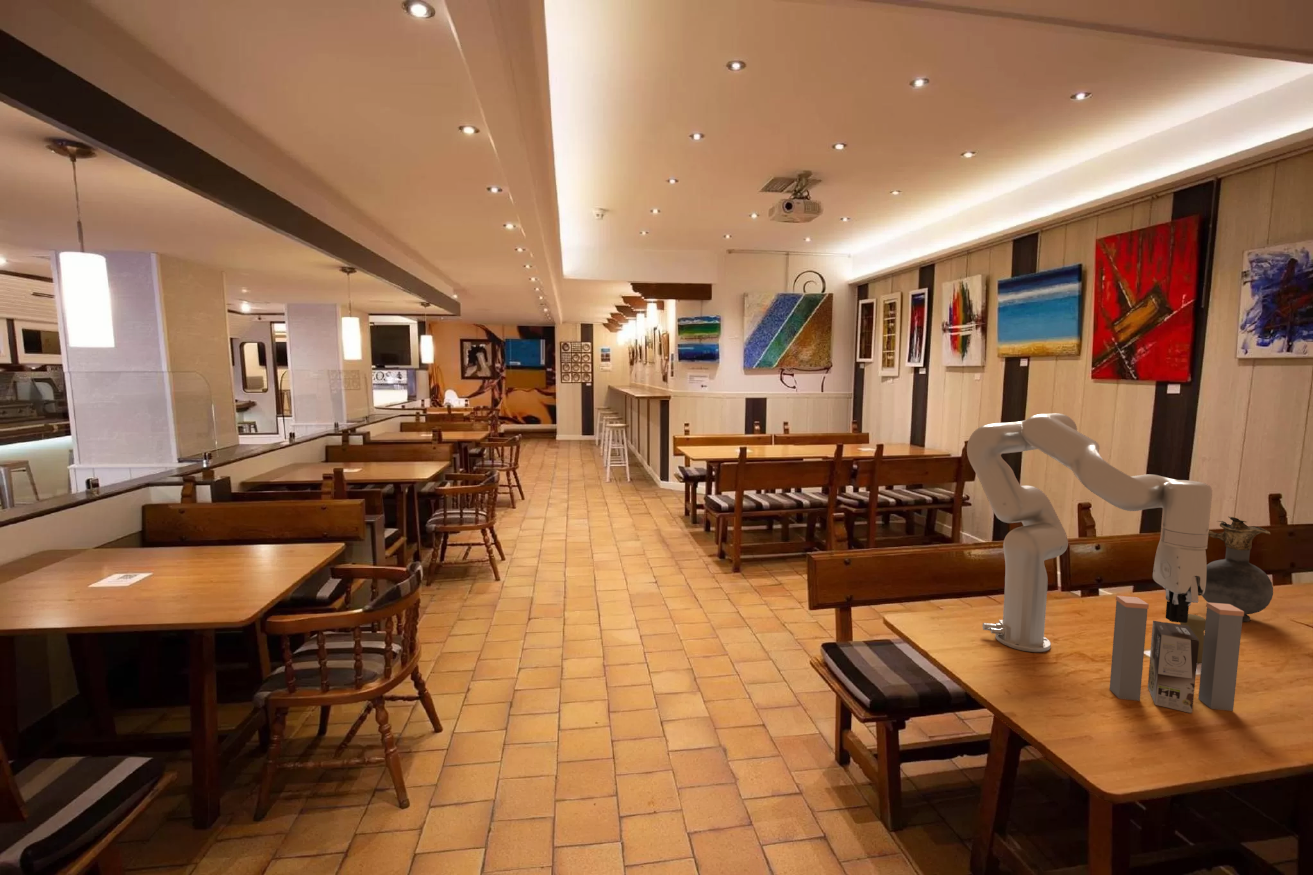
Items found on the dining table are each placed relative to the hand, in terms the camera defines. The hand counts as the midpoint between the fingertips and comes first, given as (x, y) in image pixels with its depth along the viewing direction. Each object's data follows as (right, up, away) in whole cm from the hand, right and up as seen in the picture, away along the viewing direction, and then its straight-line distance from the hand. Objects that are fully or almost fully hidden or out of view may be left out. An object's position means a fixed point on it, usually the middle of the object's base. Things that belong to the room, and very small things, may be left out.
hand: (1176, 620), depth 126 cm
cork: (+22, -16, +21) cm, 35 cm away
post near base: (-8, -18, +4) cm, 20 cm away
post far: (+8, -18, 0) cm, 20 cm away
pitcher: (+57, -13, +48) cm, 75 cm away
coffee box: (0, -18, +2) cm, 18 cm away
